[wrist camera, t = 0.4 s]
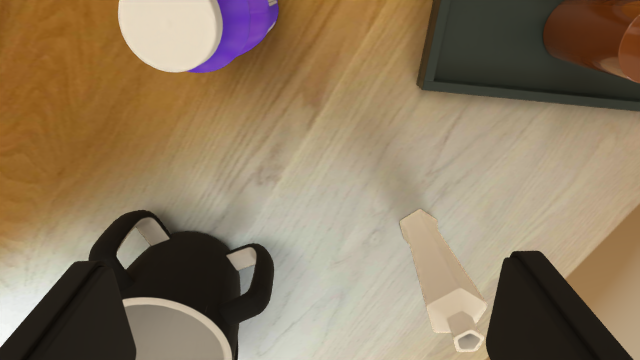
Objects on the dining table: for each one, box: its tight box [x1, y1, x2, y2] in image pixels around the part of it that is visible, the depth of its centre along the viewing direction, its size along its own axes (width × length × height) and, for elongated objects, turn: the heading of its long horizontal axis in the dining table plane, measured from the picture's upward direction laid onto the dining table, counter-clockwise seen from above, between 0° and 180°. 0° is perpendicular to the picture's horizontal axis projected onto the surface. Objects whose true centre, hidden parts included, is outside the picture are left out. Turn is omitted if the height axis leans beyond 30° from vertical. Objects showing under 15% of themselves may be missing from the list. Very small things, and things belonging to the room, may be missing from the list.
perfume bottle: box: [400, 209, 488, 352], centre depth 35 cm, size 5×4×15 cm
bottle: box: [118, 0, 278, 73], centre depth 25 cm, size 7×6×17 cm
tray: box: [417, 0, 640, 111], centre depth 33 cm, size 12×23×2 cm, turn 84°
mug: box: [89, 210, 274, 360], centre depth 38 cm, size 16×16×12 cm
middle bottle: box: [543, 0, 640, 83], centre depth 28 cm, size 5×5×12 cm
